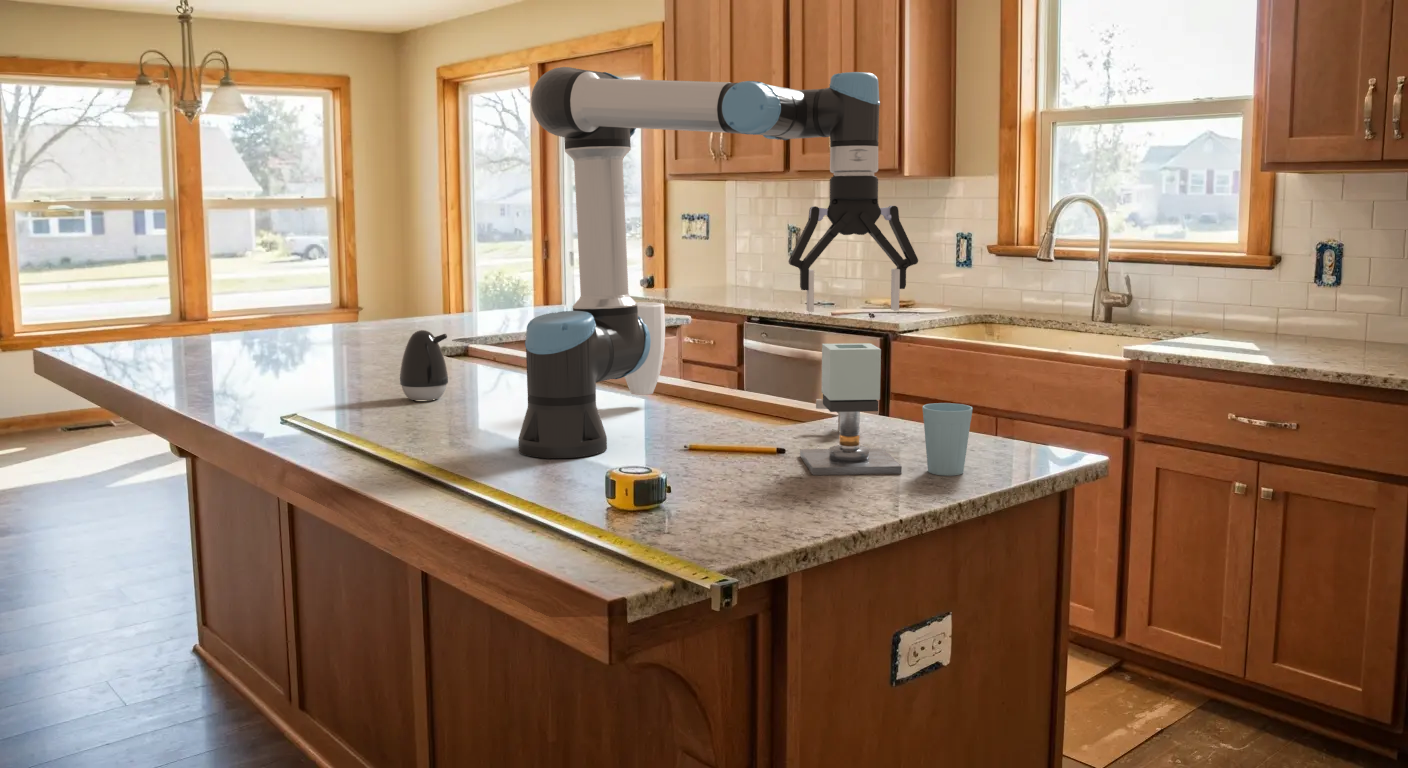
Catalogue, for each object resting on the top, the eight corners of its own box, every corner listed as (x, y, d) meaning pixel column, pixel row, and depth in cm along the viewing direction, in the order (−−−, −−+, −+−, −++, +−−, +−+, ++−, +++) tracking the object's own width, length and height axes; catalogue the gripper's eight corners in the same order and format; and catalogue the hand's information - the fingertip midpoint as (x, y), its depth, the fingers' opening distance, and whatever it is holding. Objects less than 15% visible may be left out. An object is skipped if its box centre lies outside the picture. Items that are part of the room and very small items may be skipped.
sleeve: (829, 400, 185) (830, 349, 184) (821, 392, 193) (822, 343, 192) (879, 399, 186) (880, 349, 185) (869, 391, 194) (870, 343, 192)
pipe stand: (812, 475, 184) (813, 389, 182) (800, 456, 198) (800, 376, 196) (901, 473, 185) (903, 388, 183) (882, 455, 198) (884, 375, 196)
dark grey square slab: (830, 411, 186) (830, 401, 186) (822, 403, 193) (822, 394, 193) (878, 411, 186) (878, 401, 186) (868, 403, 194) (868, 393, 193)
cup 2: (676, 405, 248) (676, 303, 245) (648, 412, 239) (647, 306, 236) (636, 401, 254) (635, 301, 250) (607, 408, 245) (605, 304, 242)
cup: (977, 477, 182) (978, 410, 181) (927, 478, 182) (929, 411, 180) (963, 466, 190) (964, 402, 188) (916, 467, 189) (917, 403, 188)
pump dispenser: (443, 403, 251) (441, 332, 249) (395, 403, 252) (392, 332, 249) (454, 395, 261) (452, 327, 259) (407, 395, 262) (404, 327, 259)
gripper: (777, 174, 180) (777, 313, 183) (938, 173, 181) (936, 311, 184) (771, 176, 187) (771, 309, 190) (926, 175, 189) (924, 307, 192)
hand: (852, 310), depth 187 cm, fingers open, 13 cm apart
